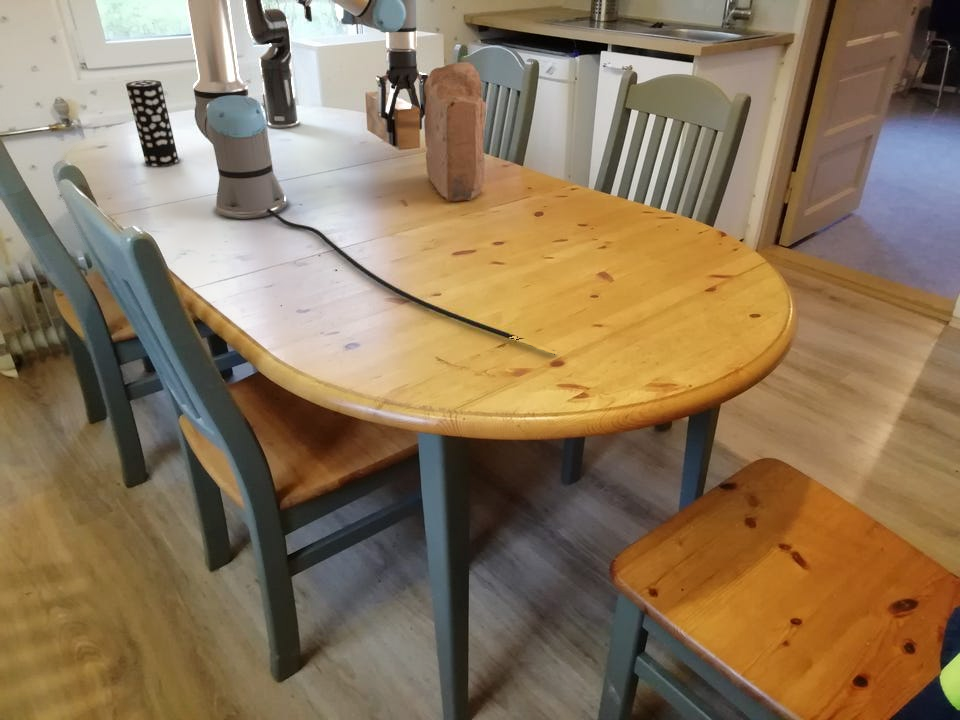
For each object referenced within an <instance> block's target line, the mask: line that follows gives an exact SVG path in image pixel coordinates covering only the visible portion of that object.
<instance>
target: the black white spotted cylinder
mask: <svg viewBox="0 0 960 720" xmlns="http://www.w3.org/2000/svg"><path fill="white" fill-rule="evenodd" d="M125 87H126V91H127V95H128V99H129V103H130V107H131V110H132V115H133V118H134V122H135V123H134V124H135V127H136V130H137V134H138V139H139V143H140V146H141V150H142V155H143V158H144V163H145V164H146V165H147V166H151V167H164V166H170V165H174V164H176V163H178V162H179V155H178V150H177V146H176V142H175V137H174V133H173V128H172V125H171V121H170V116H169V111H168V107H167V103H166V98H165V93H164V89H163V84H162V81H161V80H155V79H154V80H153V79H151V80H150V79H145V80H144V79H141V80H134V81H130V82H129V81H128V82H127V83H126V84H125Z"/></svg>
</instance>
